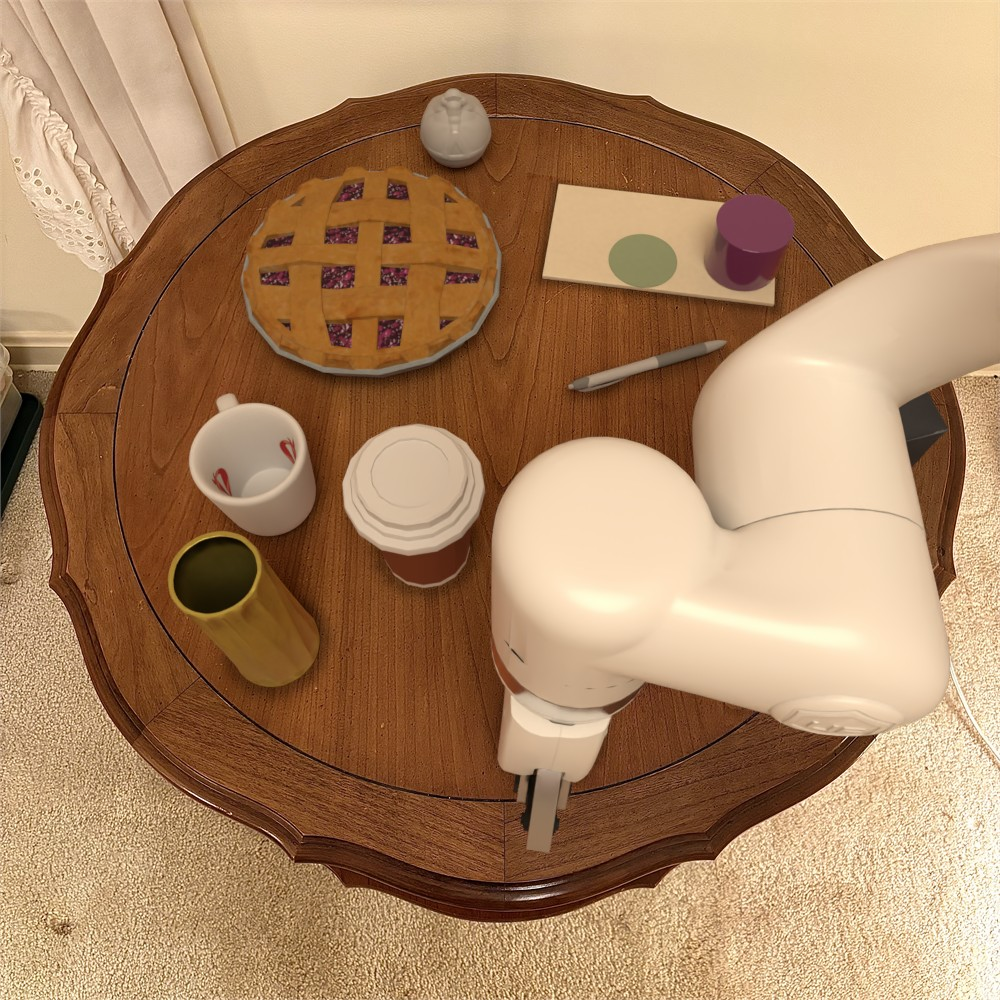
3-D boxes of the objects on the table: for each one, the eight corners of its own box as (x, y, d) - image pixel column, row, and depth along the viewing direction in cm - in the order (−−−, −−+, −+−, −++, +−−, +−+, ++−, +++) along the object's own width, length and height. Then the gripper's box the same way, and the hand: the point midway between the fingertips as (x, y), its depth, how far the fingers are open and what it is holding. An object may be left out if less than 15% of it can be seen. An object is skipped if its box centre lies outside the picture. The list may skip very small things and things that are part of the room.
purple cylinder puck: (778, 239, 75) (795, 198, 71) (777, 295, 72) (794, 257, 68) (706, 230, 75) (718, 189, 71) (702, 286, 73) (714, 247, 68)
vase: (338, 645, 60) (291, 573, 47) (268, 706, 58) (200, 649, 45) (284, 587, 62) (226, 502, 49) (216, 644, 60) (136, 572, 47)
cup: (197, 453, 66) (159, 398, 59) (292, 413, 68) (266, 355, 61) (244, 567, 62) (209, 523, 55) (343, 522, 64) (323, 472, 57)
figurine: (490, 128, 82) (488, 53, 75) (493, 181, 79) (491, 108, 72) (422, 131, 82) (414, 56, 75) (423, 184, 79) (414, 111, 72)
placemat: (775, 211, 77) (777, 207, 77) (773, 306, 72) (774, 303, 72) (558, 186, 79) (558, 182, 78) (542, 278, 74) (542, 274, 73)
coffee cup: (371, 490, 65) (345, 407, 54) (490, 493, 65) (487, 410, 54) (359, 603, 61) (327, 538, 50) (485, 607, 61) (481, 542, 50)
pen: (565, 388, 69) (566, 378, 68) (721, 343, 71) (725, 333, 69) (569, 398, 68) (570, 389, 67) (726, 353, 70) (730, 342, 69)
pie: (487, 186, 79) (486, 142, 74) (517, 382, 69) (518, 345, 65) (251, 208, 78) (235, 165, 73) (249, 410, 68) (230, 374, 64)
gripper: (520, 454, 42) (512, 576, 57) (457, 822, 34) (467, 848, 50) (672, 476, 41) (622, 593, 57) (641, 853, 34) (594, 870, 49)
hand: (550, 712), depth 53 cm, fingers open, 9 cm apart
